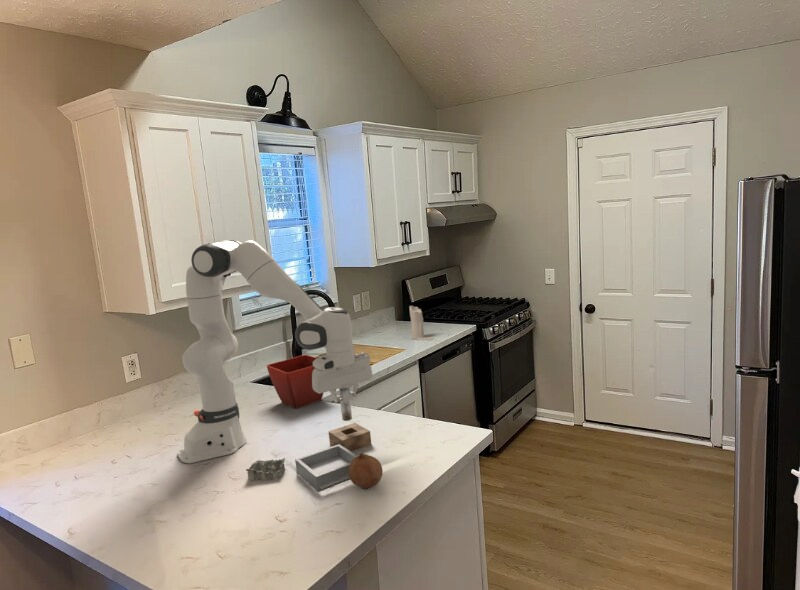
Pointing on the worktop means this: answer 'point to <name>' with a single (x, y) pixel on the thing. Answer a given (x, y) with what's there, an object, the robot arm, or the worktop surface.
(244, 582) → the worktop surface
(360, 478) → the onion
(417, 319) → the candle
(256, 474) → the egg carton
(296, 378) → the plant pot
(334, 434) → the socket block
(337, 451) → the grey tray
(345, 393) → the steel pin
